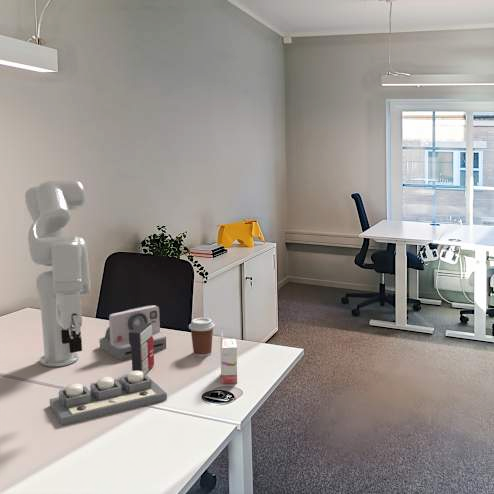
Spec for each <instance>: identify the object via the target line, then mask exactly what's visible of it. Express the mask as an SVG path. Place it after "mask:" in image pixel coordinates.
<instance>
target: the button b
mask: <svg viewBox="0 0 494 494" xmlns="http://www.w3.org/2000/svg"><path fill="white" fill-rule="evenodd" d="M114 380H115V379H114V377H111V376H105V377H104V376H103V377H99V378H98V379H97V381H96V382H98V390H100V391H102V390H107V389H111V388H114Z"/></svg>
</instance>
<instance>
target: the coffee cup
mask: <svg viewBox="0 0 494 494" xmlns="http://www.w3.org/2000/svg"><path fill="white" fill-rule="evenodd" d="M215 328H216V326H215V323H214V322H212V319H211V318H208V317H198V318H193V319H192V320H191V323H190V324H189V325H188V329H189V330H190V335H191V343H192V350H193V351H192V352H193V355H194V356H197V357H207V356H210V355H212V353H213V352H212V350H213V333H214V329H215Z"/></svg>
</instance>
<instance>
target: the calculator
mask: <svg viewBox="0 0 494 494" xmlns="http://www.w3.org/2000/svg"><path fill="white" fill-rule="evenodd" d="M129 344H130V346H131V353H132V358H131V371H142V372H143V373H144V374H146V375H147V373H148V372H149V371H150V370H151V369H152V368H153V367H154V366H155V352H154V347H153V337H152V325H151V323H140V324H139V325H138V326H136V327H135V328H134V329H133V330H131V331H130V332H129Z"/></svg>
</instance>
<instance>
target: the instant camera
mask: <svg viewBox="0 0 494 494" xmlns="http://www.w3.org/2000/svg"><path fill="white" fill-rule="evenodd" d="M108 320H109V321H108V323H109V326H108V327H107V328H106V331H105V333H104V336H103V337H100V338H99V349H100V350H101V351H103V352H105V353H107V354H108V355H111V357H114V358H116V359H117V360H120V361H124V360H127V359H132V353H131V346H130V344H129V332H130V331H131V330H133V329H134V328H135V327H136V326H138V325H139V324H140V323H151V325H152V337H153V347H154V353H155V352H159V351H162V350H165V349H167V335H166V334H165V333H162V331H161V327H160V326H161V324H160V322H161V320H160V307H159V306H157V305H150V304H149V305H144V306H138V307H135V308H129V309H127V310H124V311H120V312H115V313H114V312H113V313H111V314H109V316H108Z"/></svg>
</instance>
